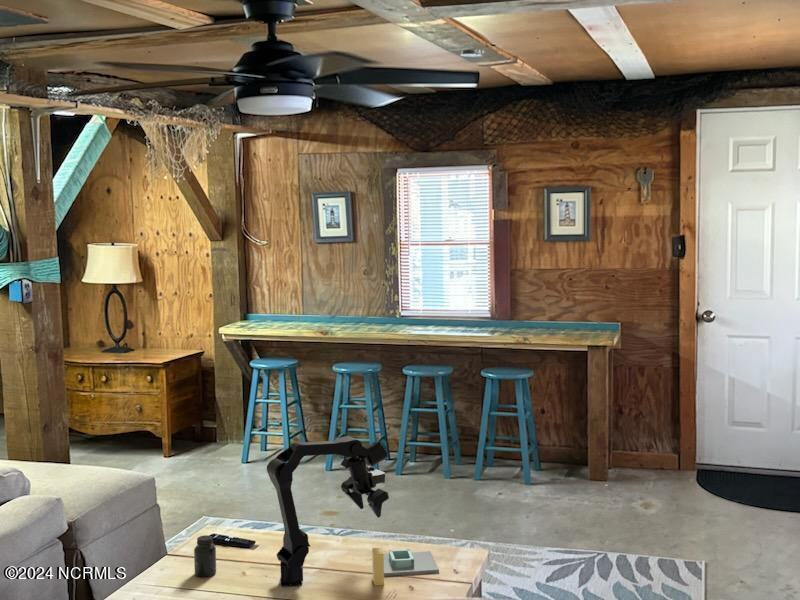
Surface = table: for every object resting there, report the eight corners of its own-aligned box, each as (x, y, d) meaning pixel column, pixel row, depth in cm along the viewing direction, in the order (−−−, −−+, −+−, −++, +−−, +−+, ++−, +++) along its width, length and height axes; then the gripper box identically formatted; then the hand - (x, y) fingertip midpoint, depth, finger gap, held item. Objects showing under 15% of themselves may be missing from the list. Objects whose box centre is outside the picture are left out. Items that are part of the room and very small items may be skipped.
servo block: (374, 585, 277) (373, 554, 276) (372, 578, 282) (372, 548, 281) (384, 584, 277) (383, 553, 276) (382, 578, 282) (381, 547, 281)
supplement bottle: (190, 576, 285) (189, 540, 284) (202, 568, 291) (201, 532, 290) (209, 579, 282) (208, 542, 281) (220, 571, 289) (219, 535, 288)
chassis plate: (383, 576, 284) (382, 565, 283) (377, 557, 299) (377, 547, 299) (438, 572, 286) (438, 562, 286) (430, 554, 302) (430, 544, 302)
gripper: (395, 468, 287) (406, 508, 293) (360, 453, 302) (371, 492, 307) (369, 485, 281) (381, 526, 287) (335, 469, 295) (346, 509, 301)
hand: (370, 512), depth 295 cm, fingers open, 9 cm apart
